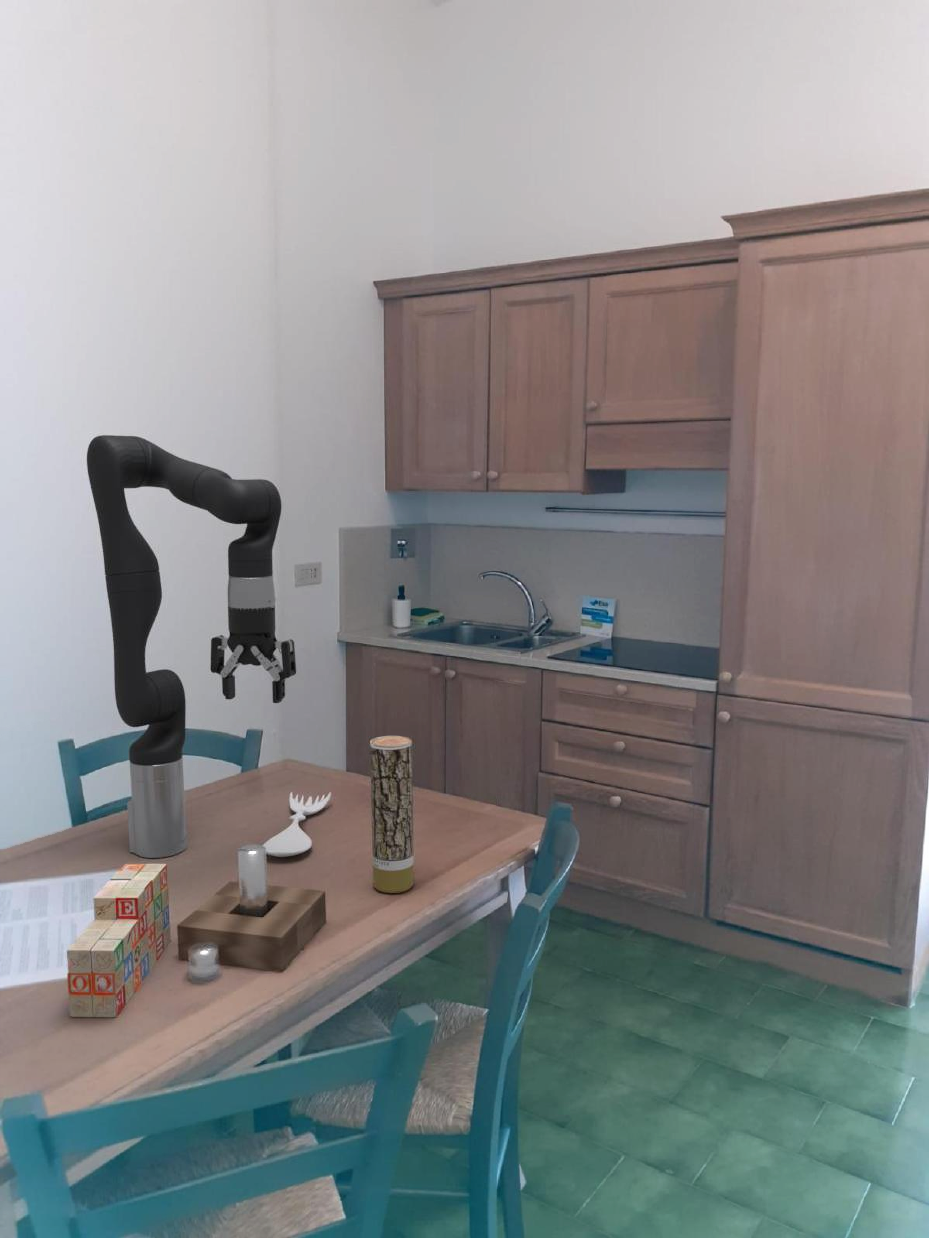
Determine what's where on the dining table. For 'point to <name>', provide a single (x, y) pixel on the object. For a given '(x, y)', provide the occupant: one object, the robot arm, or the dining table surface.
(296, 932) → the hole block
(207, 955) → the grey metal cylinder
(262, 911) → the long pin
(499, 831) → the dining table surface
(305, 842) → the spoon
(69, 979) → the stack of blocks
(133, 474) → the robot arm
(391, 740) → the paper tube
